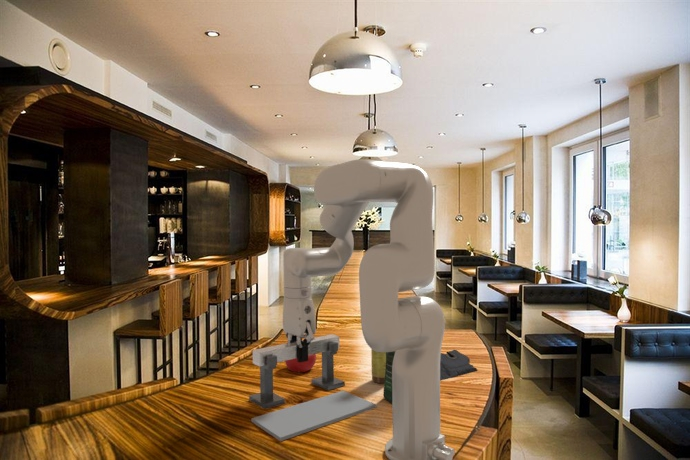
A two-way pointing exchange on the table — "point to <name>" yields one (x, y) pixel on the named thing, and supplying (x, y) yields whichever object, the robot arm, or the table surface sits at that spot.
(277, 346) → the hang bar
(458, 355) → the dark grey notched piece
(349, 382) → the table surface
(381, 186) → the robot arm
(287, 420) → the mat
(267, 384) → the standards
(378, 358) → the sauce bottle
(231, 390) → the table surface
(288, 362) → the pomegranate
